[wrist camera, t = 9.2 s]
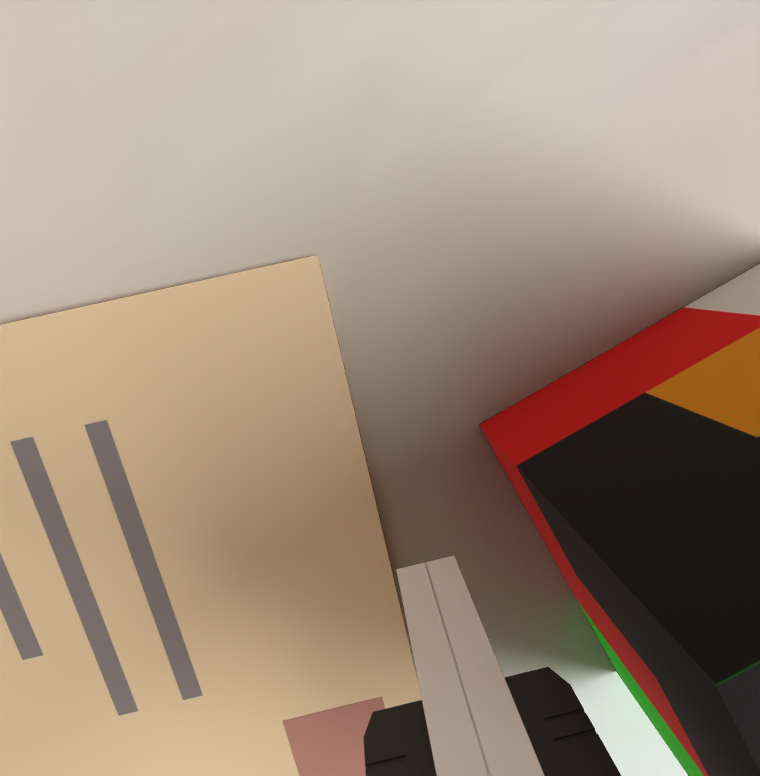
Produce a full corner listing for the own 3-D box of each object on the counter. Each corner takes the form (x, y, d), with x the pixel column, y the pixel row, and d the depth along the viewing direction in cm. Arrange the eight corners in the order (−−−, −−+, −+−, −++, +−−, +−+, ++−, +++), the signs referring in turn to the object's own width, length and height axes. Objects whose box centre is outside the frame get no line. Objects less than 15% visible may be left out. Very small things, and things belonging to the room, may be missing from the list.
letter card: (-294, 389, 14) (-309, 392, 13) (317, 255, 14) (316, 255, 14) (-25, 903, 18) (-31, 915, 17) (442, 787, 18) (444, 796, 18)
